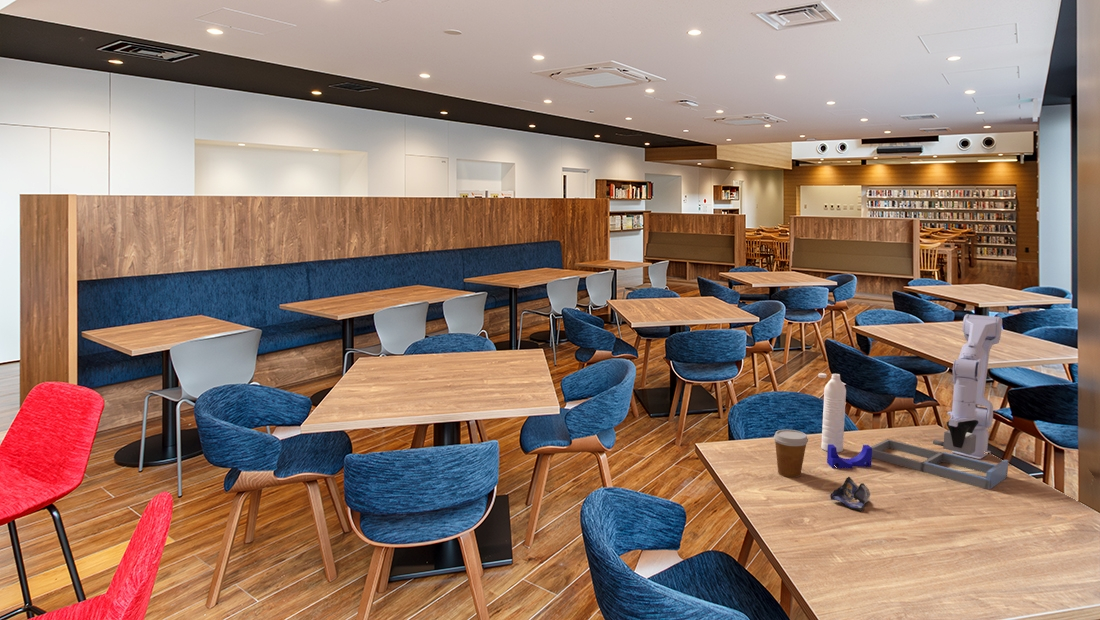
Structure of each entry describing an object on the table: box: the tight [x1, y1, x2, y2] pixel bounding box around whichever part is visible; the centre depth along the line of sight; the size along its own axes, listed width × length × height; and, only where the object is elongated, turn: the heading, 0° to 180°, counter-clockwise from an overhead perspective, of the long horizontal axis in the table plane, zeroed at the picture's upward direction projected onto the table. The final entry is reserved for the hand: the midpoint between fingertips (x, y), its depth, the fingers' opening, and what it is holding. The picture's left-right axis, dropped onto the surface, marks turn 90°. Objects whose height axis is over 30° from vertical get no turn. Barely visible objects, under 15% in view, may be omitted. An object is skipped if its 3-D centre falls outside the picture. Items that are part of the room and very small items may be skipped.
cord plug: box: [932, 429, 976, 455], centre depth 197 cm, size 4×11×5 cm, turn 38°
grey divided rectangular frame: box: [870, 438, 1009, 490], centre depth 202 cm, size 14×34×5 cm, turn 39°
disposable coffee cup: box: [773, 429, 809, 478], centre depth 197 cm, size 10×10×12 cm
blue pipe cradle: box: [826, 444, 873, 469], centre depth 203 cm, size 12×4×6 cm, turn 86°
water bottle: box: [817, 372, 847, 453], centre depth 216 cm, size 9×6×25 cm
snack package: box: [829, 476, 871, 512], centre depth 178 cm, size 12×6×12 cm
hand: (960, 445), depth 196 cm, fingers closed on cord plug, 4 cm apart
